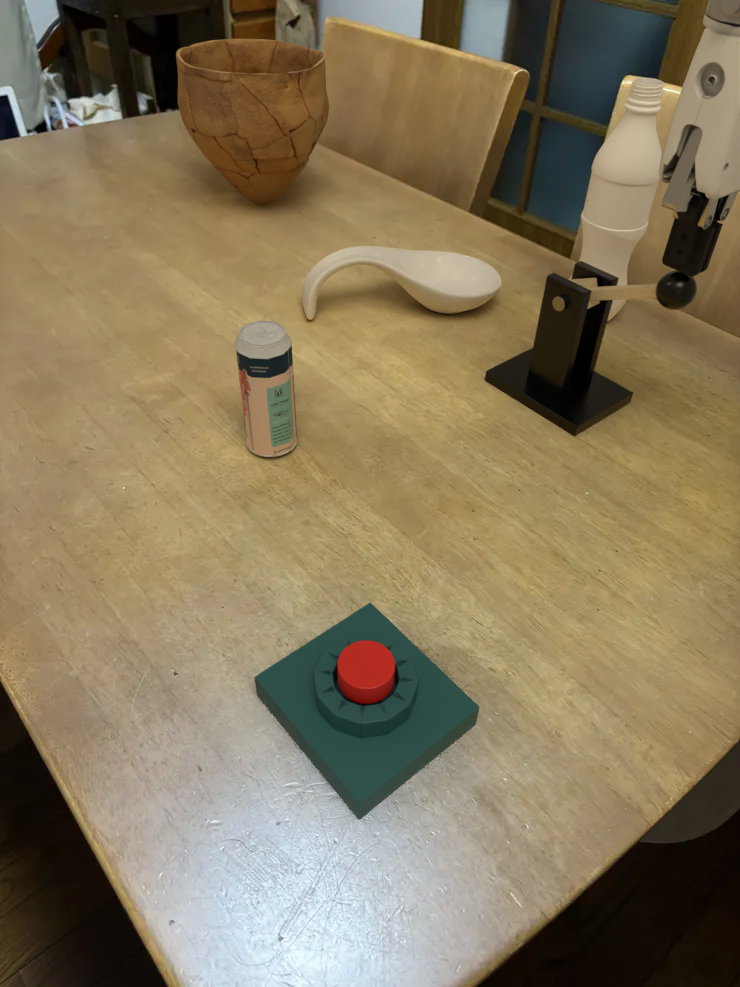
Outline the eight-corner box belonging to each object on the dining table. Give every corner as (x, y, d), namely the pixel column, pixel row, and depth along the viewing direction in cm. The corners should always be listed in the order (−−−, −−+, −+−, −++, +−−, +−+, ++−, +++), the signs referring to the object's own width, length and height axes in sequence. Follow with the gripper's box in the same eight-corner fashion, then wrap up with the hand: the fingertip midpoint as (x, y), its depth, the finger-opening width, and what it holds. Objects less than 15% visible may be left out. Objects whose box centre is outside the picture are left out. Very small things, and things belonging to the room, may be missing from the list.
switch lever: (706, 302, 63) (703, 264, 61) (684, 314, 61) (681, 275, 60) (580, 306, 73) (575, 273, 72) (558, 316, 71) (553, 283, 70)
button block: (476, 724, 50) (483, 691, 47) (359, 820, 45) (359, 789, 42) (369, 620, 56) (370, 585, 53) (256, 695, 51) (251, 660, 48)
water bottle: (556, 321, 88) (607, 87, 71) (565, 293, 93) (614, 68, 76) (619, 332, 87) (686, 95, 70) (624, 303, 92) (687, 76, 75)
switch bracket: (630, 402, 77) (667, 287, 68) (574, 436, 72) (605, 318, 64) (540, 351, 83) (563, 240, 75) (484, 380, 79) (501, 266, 70)
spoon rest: (480, 275, 96) (487, 220, 91) (512, 321, 88) (521, 264, 83) (297, 291, 92) (294, 234, 87) (312, 341, 84) (310, 282, 79)
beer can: (261, 424, 73) (250, 313, 65) (306, 436, 72) (300, 324, 63) (237, 453, 69) (222, 340, 61) (283, 466, 68) (275, 353, 60)
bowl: (207, 174, 120) (190, 29, 106) (334, 178, 119) (333, 34, 106) (178, 229, 104) (153, 68, 91) (323, 234, 104) (320, 74, 91)
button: (405, 682, 48) (407, 667, 47) (362, 715, 46) (362, 699, 45) (369, 646, 50) (370, 630, 49) (326, 675, 48) (325, 660, 47)
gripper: (764, 28, 43) (670, 315, 55) (879, 0, 50) (773, 259, 63) (653, 5, 47) (588, 277, 60) (774, -18, 54) (694, 228, 67)
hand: (683, 267), depth 61 cm, fingers closed
